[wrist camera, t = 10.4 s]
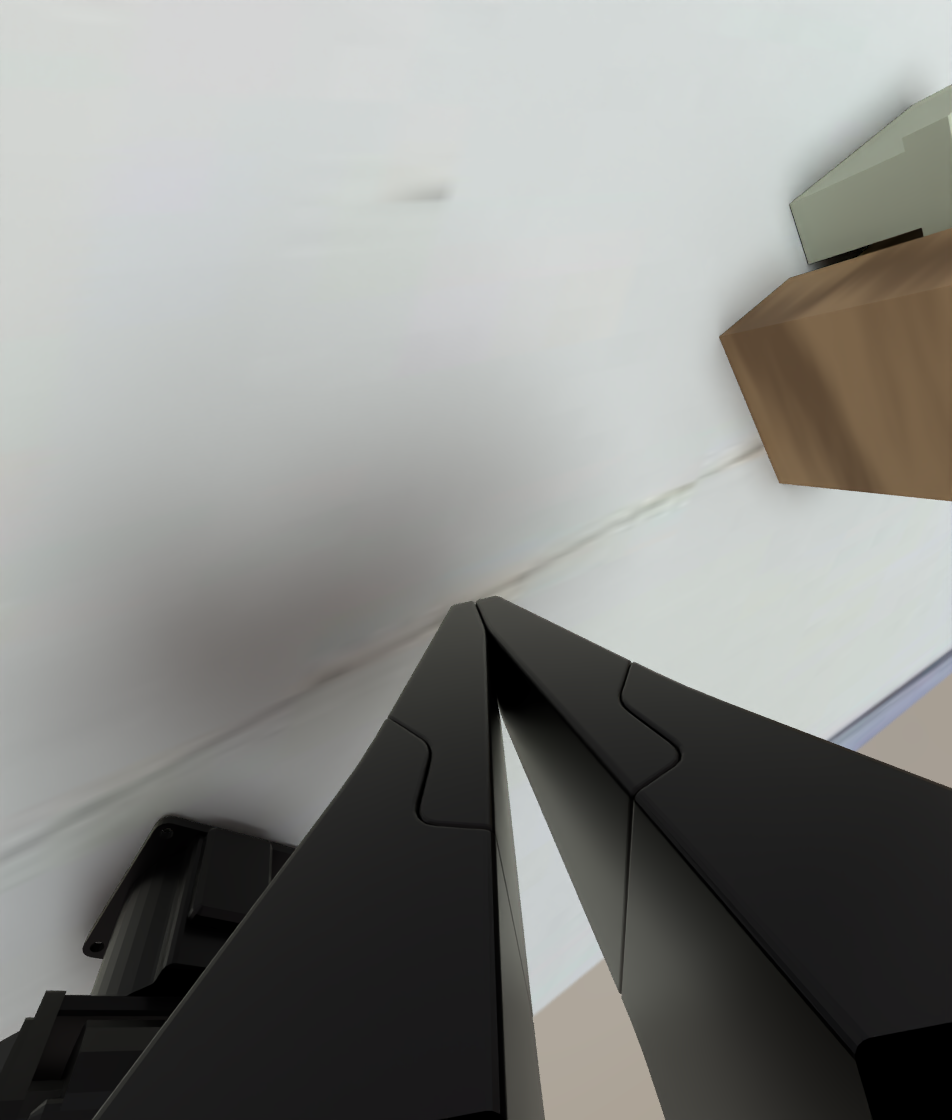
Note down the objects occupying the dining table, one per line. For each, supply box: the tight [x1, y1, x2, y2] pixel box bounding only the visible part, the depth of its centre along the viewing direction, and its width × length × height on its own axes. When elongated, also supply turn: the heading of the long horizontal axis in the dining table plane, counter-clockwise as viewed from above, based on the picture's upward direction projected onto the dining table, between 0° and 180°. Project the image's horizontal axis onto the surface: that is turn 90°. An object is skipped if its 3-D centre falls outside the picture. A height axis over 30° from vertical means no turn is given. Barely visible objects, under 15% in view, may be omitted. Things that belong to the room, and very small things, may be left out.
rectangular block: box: [719, 228, 952, 501], centre depth 23 cm, size 13×9×10 cm
